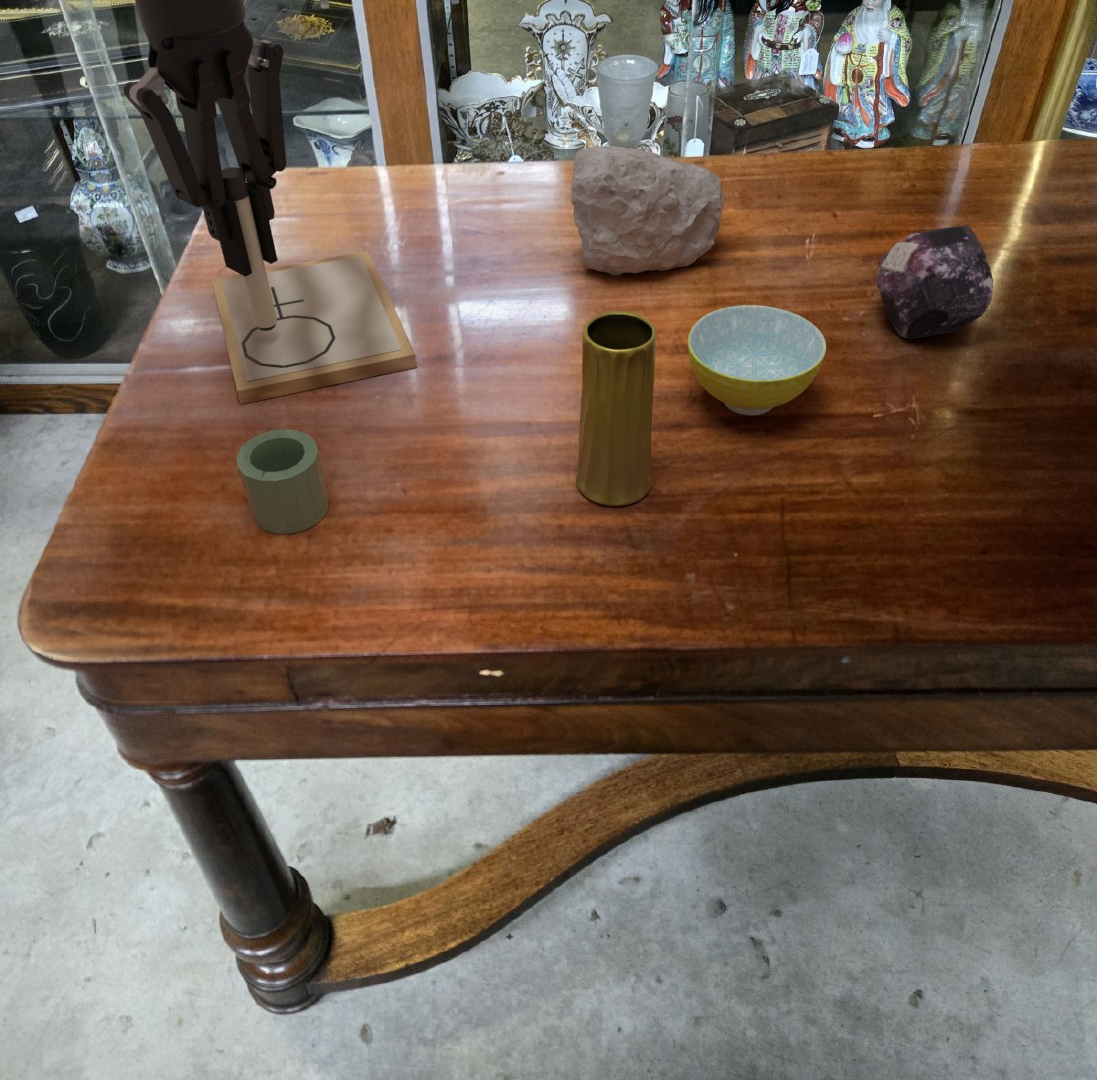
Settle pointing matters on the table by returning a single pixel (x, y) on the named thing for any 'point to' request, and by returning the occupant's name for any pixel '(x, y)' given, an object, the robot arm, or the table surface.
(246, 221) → the pen
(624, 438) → the vase
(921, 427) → the table surface
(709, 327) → the bowl
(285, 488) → the pencil pot
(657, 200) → the rough grey rock
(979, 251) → the mineral specimen
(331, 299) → the sketch board
